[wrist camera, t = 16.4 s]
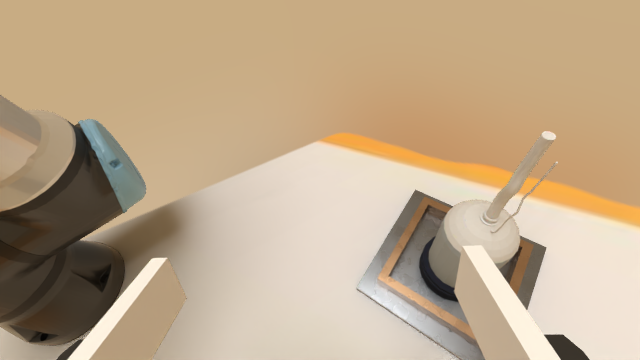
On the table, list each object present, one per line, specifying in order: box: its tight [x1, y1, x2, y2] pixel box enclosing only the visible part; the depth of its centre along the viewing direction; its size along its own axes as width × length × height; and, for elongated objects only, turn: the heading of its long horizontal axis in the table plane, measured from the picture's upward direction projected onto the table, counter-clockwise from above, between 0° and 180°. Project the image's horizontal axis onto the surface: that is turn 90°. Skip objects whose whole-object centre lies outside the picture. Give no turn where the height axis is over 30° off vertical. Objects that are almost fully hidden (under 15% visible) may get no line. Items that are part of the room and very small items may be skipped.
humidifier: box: [419, 131, 558, 302], centre depth 26 cm, size 8×8×25 cm
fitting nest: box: [356, 190, 546, 360], centre depth 36 cm, size 18×18×4 cm
